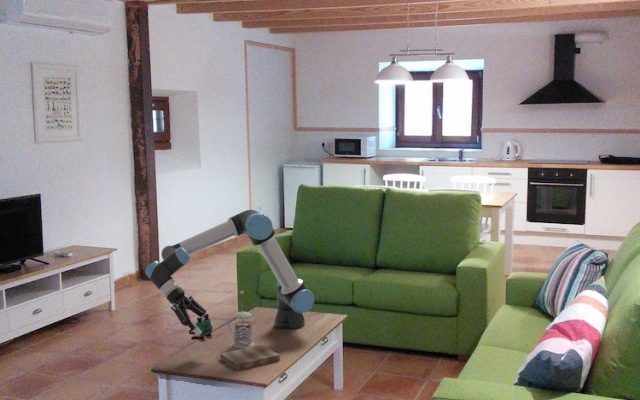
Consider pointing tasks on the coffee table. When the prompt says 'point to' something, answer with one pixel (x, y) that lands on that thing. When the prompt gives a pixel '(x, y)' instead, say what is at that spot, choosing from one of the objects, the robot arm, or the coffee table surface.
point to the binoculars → (203, 329)
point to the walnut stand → (249, 357)
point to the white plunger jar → (242, 330)
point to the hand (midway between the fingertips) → (206, 330)
